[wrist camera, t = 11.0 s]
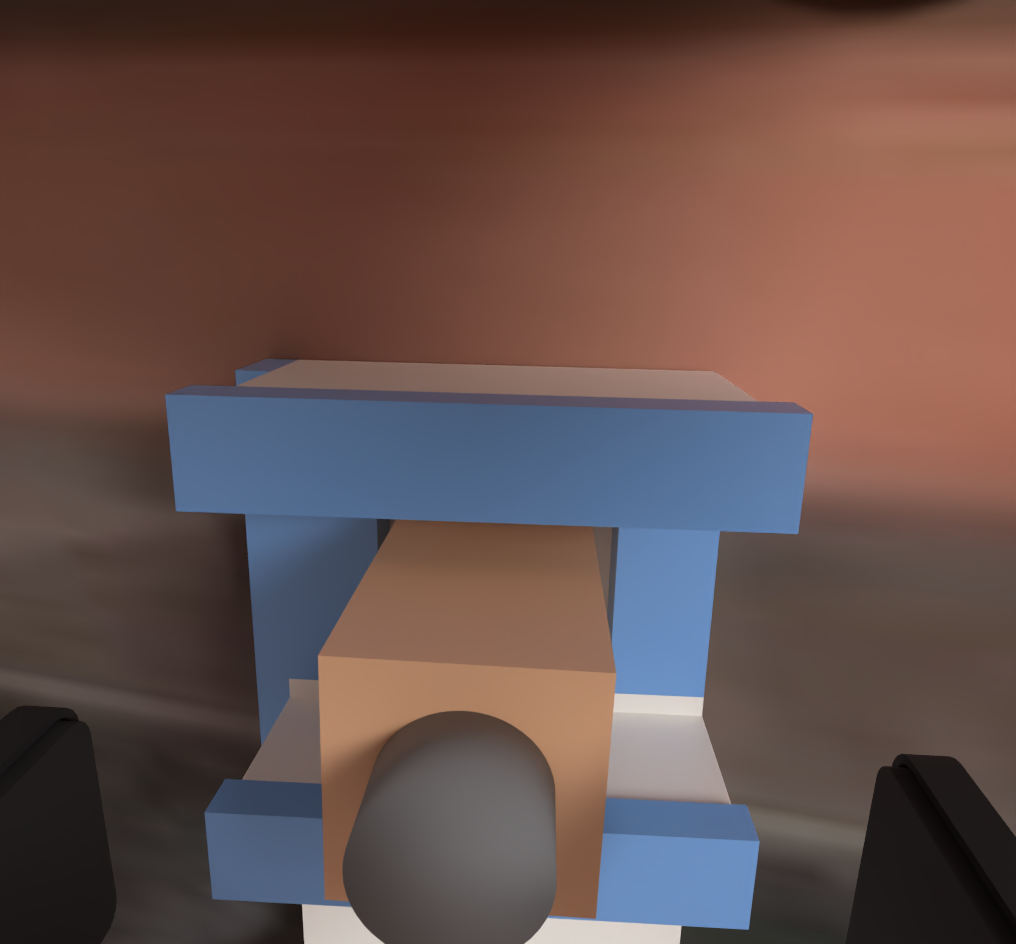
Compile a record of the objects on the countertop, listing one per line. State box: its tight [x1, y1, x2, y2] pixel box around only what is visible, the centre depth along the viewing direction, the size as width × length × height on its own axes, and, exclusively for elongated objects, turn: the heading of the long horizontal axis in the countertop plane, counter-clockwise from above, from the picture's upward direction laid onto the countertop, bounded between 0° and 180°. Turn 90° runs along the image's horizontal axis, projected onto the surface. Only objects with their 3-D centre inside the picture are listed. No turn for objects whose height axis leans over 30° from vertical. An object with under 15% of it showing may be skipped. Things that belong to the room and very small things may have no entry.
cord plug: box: [318, 519, 616, 944], centre depth 15 cm, size 4×4×11 cm
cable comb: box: [165, 359, 813, 944], centre depth 19 cm, size 26×11×6 cm, turn 179°
